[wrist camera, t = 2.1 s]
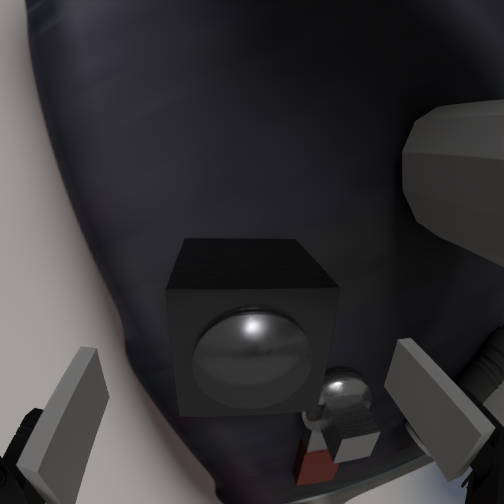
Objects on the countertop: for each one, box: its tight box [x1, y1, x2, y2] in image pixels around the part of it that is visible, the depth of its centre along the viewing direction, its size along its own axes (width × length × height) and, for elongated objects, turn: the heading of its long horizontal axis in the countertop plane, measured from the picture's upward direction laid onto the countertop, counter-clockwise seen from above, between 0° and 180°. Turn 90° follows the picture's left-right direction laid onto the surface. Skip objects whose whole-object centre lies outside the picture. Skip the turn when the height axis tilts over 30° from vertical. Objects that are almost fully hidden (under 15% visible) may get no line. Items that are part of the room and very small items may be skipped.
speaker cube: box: [166, 238, 340, 417], centre depth 17 cm, size 7×7×8 cm
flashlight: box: [405, 325, 504, 457], centre depth 25 cm, size 15×5×5 cm, turn 136°
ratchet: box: [293, 367, 381, 486], centre depth 23 cm, size 15×6×6 cm, turn 178°
